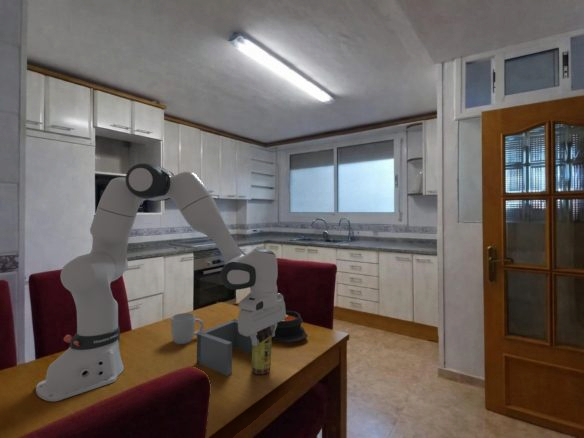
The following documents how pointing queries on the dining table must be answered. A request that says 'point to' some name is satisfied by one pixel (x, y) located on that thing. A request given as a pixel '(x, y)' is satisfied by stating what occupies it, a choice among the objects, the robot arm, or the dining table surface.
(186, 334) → the mug
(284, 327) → the casserole
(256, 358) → the sauce bottle
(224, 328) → the folding screen
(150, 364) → the dining table surface
